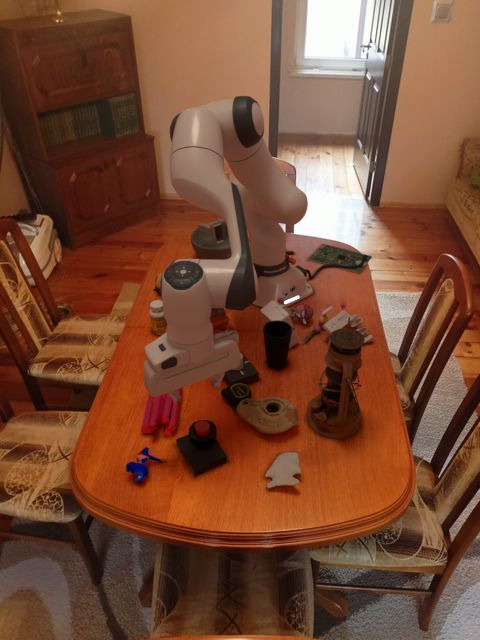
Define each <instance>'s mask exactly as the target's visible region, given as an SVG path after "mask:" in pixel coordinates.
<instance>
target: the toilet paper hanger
mask: <svg viewBox="0 0 480 640" xmlns="http://www.w3.org/2000/svg"><path fill="white" fill-rule="evenodd" d="M223 224H226V223H225V222H224V220H223V219H222V218H218V219H216V220H214V221H211V222H208V223H203V222H200V223H198V224H197V228H199V231H201V232H204V233H206V234H209V235H210V236H211V237H212V240H213V242H214V243H217V244H218V243H221V242H223V241H225V238H224V232H223Z"/></svg>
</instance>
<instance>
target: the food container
mask: <svg viewBox="0 0 480 640" xmlns="http://www.w3.org/2000/svg"><path fill="white" fill-rule="evenodd" d="M230 320H231V319H230V317H229V316H227V313H226V308H211V316H210V321H211V324H212V327H213V330H215V329H217V330H219V329H220V328H223V327H224V326H227V325H228V324H229V322H230Z"/></svg>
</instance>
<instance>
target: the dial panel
mask: <svg viewBox="0 0 480 640" xmlns="http://www.w3.org/2000/svg"><path fill="white" fill-rule="evenodd" d="M239 352H240V353H242V355H243V368H242V369H240V370H232V369H231V370H229V371H226V372H225V375H224V377H223V379H222V380H223V381H224V382H225V383H226V385H227V387H228V386H229V385H230V384H232V383H235V382H241V383H244V384H246V385H248V386H249V385H250V384H253V383H255V382H258V381H260V377H259V376H260V372H259V370H258V369H256V367H255V366H254V365H253V364H252V362H251V361H250V360H249V359H248V358H247V357H246V355H245V354H244V353H243V352H242V351H241V350H239Z"/></svg>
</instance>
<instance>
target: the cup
mask: <svg viewBox="0 0 480 640" xmlns="http://www.w3.org/2000/svg"><path fill="white" fill-rule="evenodd" d="M291 334H292V327H291V326H290V325H289V324H288V323H286V322H284V321H279V320H275V321H271V322H268V323H266V322H265V324H264V325H263V327H262V335H263V344H264V352H265V361H266V362H265V363H266V366H267V367H268V368H269V369H271V370H275V371H278V370H282V369H285V367H286V366H287V364H288V358H289V356H288V355H289V351H290V348H289V346H290V340H291Z"/></svg>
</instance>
